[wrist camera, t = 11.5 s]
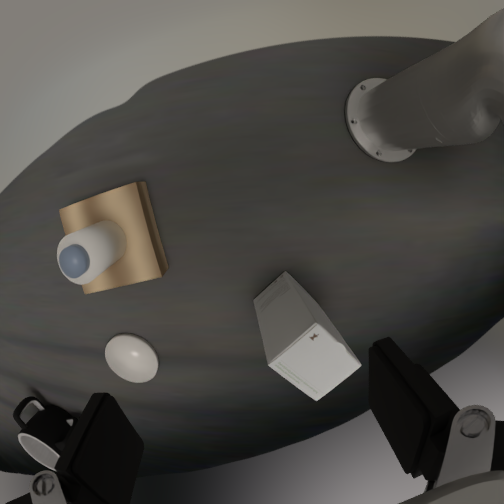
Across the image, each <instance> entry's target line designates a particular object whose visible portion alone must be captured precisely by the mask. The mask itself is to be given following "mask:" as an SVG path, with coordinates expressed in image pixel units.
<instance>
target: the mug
mask: <svg viewBox="0 0 504 504" xmlns="http://www.w3.org/2000/svg"><path fill="white" fill-rule="evenodd" d="M30 403H34V404H35V405H36V406H37V408H38V409H39V410H40V411H39V412H37V413H36V414H35V415H34V416H33V417H32V418H31V419H30V420H29V421H28V422H27V423H26V424H25V423H24V422H23V421H22V420H21V418H20V416H21V414H22V412H23V411H24V409H25V408H26V407H27V406H28V405H29V404H30ZM13 417H14V419H15V421H16V422H17V423H18V425H19V426H20V427H21V428H22V430H21V431H20V433H19V435H18V439H19V441H20V443H21V445H22V446H23V448H24V449H25V450H26V451H27V452H28V453H29V454H30V455H31V456H32V457H33V458H34V459H36V460H37V461H38V462H40V463H41V464H43V465H44V466H46V467H48V468H50V469H52V470H55V469H54V467H55V465H56V463H57V461H58V458H59V456H60V454H61V452H62V450H63V448H64V447H65V445H66V443H67V441H68V439H69V437H70V435H71V433H72V431H73V429H74V427H75V425H76V424H77V422H78V419H77V418H72V417H71V416H70V415H69V414H68V413H66V412H65V411H63V410H62V409H60V408H58V407H55V406H46V407H45V406H44V405H43V404H42V403H41V402H40V401H39V400H38V399H37V398H35V397H27V398H25V399H23V400H22V401H21V402H20V404H19V405H18V406H17V408H16V409H15V410H14V413H13ZM55 471H56V470H55Z"/></svg>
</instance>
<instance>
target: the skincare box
mask: <svg viewBox="0 0 504 504" xmlns="http://www.w3.org/2000/svg"><path fill="white" fill-rule="evenodd" d="M253 302H254V306H255V310H256V315H257V319H258V323H259V327H260V332H261V336H262V340H263V345H264V349H265V353H266V358H267V362H268V366H270V367H271V368H272V369H274V370H275V371H276V372H278V373H279V374H280V375H281V376H283V377H284V378H285V379H287V380H288V381H289V382H291V383H292V384H293V385H295V386H296V387H297V388H299V389H300V390H301V391H303V392H304V393H306V394H307V395H308V396H310V397H311V398H313V399H314V400H316V401H317V400H319V399H320V398H322V397H323V396H324V395H326V394H327V393H328V392H329V391H331V390H332V389H333V388H334V387H336V386H337V385H338V384H339V383H341V382H342V381H343V380H345V379H346V378H347V377H348V376H350V375H351V374H352V373H353V372H354V371H356V370H357V369H358V368H359V367H361V363H360V362H359V360H358V359H357V357H356V356H355V355H354V353H353V352H352V350H351V349H350V348H349V346H348V345H347V343H346V342H345V341H344V339H343V338H342V336H341V335H340V334H339V332H338V331H337V329H336V328H335V326H334V325H333V324H332V322H331V321H330V320H329V318H328V317H327V315H326V314H325V313H324V311H323V310H322V308H321V307H320V305H319V304H318V303H317V302H316V301H315V300H314V299H313V298H312V297H311V296H310V294H309V293H308V292H307V291H306V290H305V289H304V288H303V287H302V286H301V285H300V284H299V283H298V282H297V281H296V280H295V279H294V278H293V277H292V276H291V275H290V274H288V273H287V272H286V271H285V272H283V273H282V274H281V275H280V276H279V277H278V278H277V279H276V280H275V281H274V282H272V283H271V284H270V285H269V286H268V287H267V288H266V289H265V290H264V291H263V292H262V293H260V294H259V295H258V296H257V297H256V298H255V299H254V300H253Z"/></svg>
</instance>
